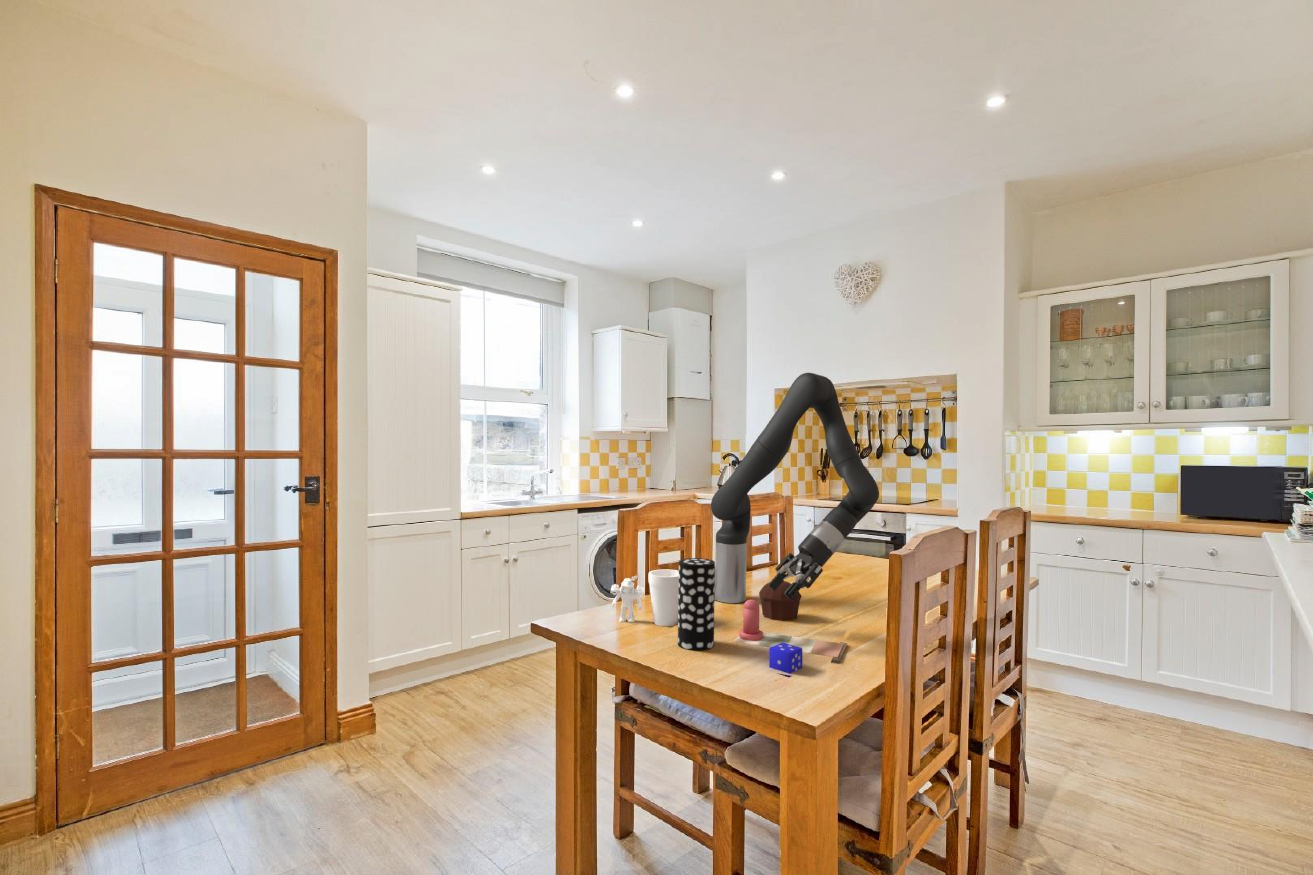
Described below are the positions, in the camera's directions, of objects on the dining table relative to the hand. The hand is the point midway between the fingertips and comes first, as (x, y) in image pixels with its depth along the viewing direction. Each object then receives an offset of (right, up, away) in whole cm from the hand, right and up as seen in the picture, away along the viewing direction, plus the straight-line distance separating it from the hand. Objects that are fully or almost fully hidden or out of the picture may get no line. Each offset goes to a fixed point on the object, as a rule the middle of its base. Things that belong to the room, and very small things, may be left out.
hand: (778, 592), depth 154 cm
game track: (+1, -11, -6) cm, 13 cm away
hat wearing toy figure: (-38, -11, +13) cm, 41 cm away
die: (-3, -12, -21) cm, 24 cm away
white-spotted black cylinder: (-21, -11, -8) cm, 25 cm away
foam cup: (-27, -11, +12) cm, 32 cm away
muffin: (+3, -11, +16) cm, 20 cm away
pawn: (-7, -10, -2) cm, 13 cm away
